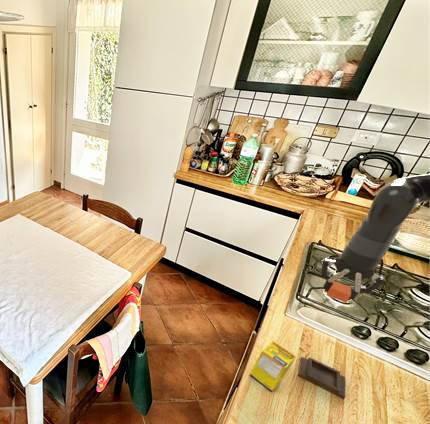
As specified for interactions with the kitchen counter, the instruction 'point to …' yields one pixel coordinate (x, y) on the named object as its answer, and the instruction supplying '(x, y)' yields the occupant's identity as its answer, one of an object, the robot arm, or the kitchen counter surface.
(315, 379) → the back plate
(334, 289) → the orange-red small block
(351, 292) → the robot arm
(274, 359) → the supplement box
